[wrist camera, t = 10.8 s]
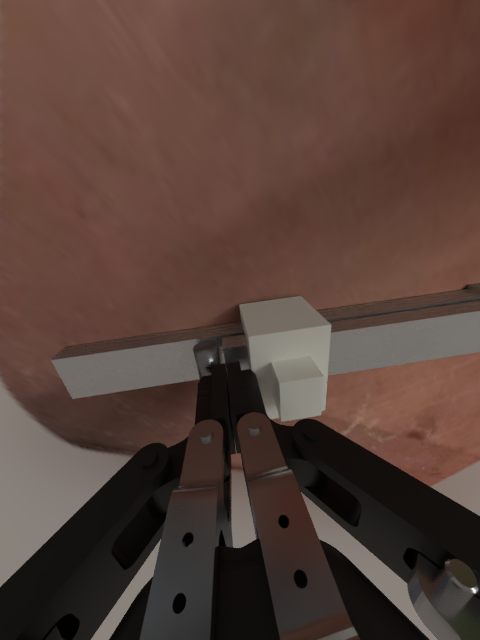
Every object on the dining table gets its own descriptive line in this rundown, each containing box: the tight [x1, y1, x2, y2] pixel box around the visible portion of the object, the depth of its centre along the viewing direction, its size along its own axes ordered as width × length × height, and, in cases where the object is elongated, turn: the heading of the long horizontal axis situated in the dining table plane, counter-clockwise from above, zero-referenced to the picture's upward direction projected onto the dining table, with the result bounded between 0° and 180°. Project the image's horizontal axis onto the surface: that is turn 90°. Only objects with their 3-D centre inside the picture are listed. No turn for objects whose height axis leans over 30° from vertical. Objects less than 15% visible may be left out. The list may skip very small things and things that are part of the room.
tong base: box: [51, 283, 480, 399], centre depth 15 cm, size 31×4×3 cm, turn 96°
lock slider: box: [239, 296, 331, 422], centre depth 13 cm, size 4×6×6 cm
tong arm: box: [222, 301, 480, 375], centre depth 14 cm, size 20×4×2 cm, turn 96°
